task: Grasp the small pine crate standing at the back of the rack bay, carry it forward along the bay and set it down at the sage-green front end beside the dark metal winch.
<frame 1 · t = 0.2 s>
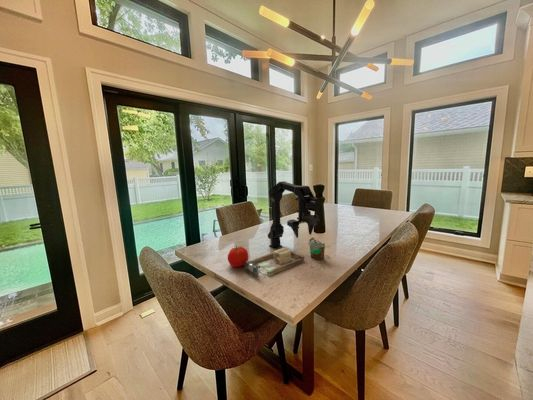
hand: (303, 236, 124), 14 cm above the table, fingers open, 9 cm apart
bay: (275, 263, 123), on the table
food container: (314, 257, 129), on the table
tomato: (238, 265, 123), on the table
crate: (282, 260, 126), resting in bay
winch: (251, 272, 114), on the table
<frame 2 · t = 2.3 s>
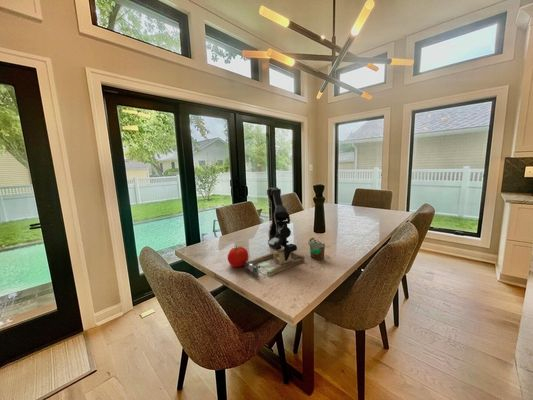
hand: (282, 258, 126), 1 cm above the table, fingers closed on crate, 6 cm apart
crate: (282, 260, 126), resting in bay, touching gripper
everything else where it was.
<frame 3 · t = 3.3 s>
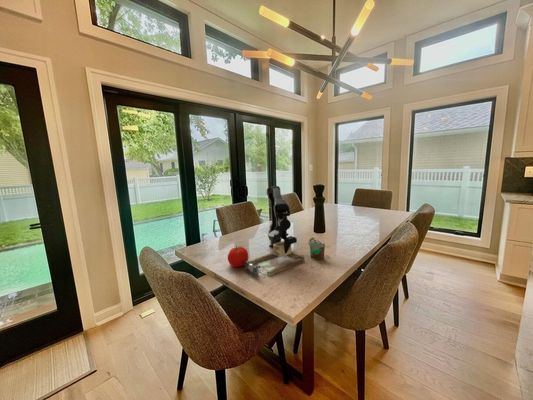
hand: (282, 251, 125), 6 cm above the table, fingers closed on crate, 6 cm apart
crate: (282, 253, 126), point 4 cm above the table, touching gripper
everything else where it was.
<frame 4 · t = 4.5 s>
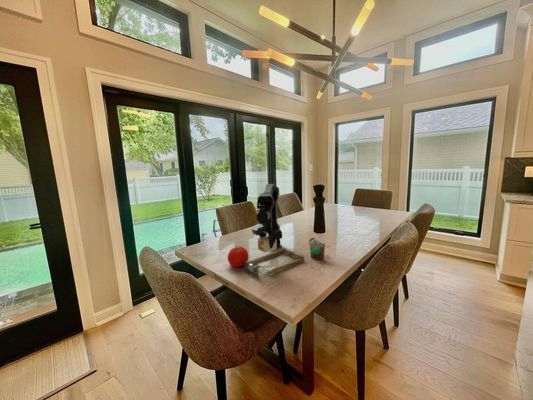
hand: (267, 246, 118), 11 cm above the table, fingers closed on crate, 6 cm apart
crate: (267, 248, 118), point 10 cm above the table, touching gripper
everything else where it was.
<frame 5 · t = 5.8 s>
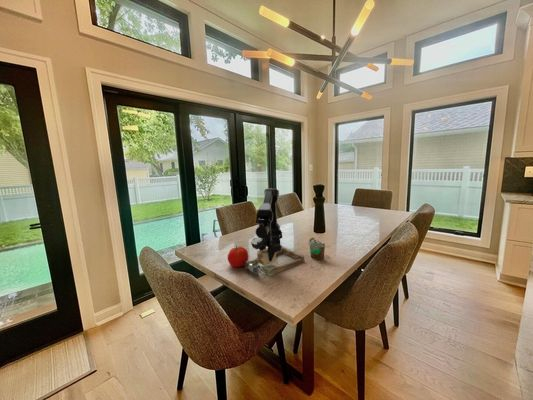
hand: (266, 259, 119), 4 cm above the table, fingers closed on crate, 6 cm apart
crate: (266, 261, 120), point 3 cm above the table, touching gripper
everything else where it was.
when the fingers open (2 cm above the table, at t = 6.6 s): crate drops 1 cm, resting on bay.
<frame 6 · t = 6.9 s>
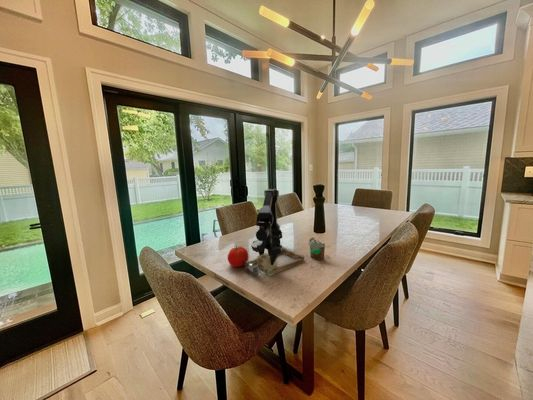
hand: (266, 262, 120), 2 cm above the table, fingers open, 9 cm apart
crate: (267, 266, 120), resting on bay
everything else where it was.
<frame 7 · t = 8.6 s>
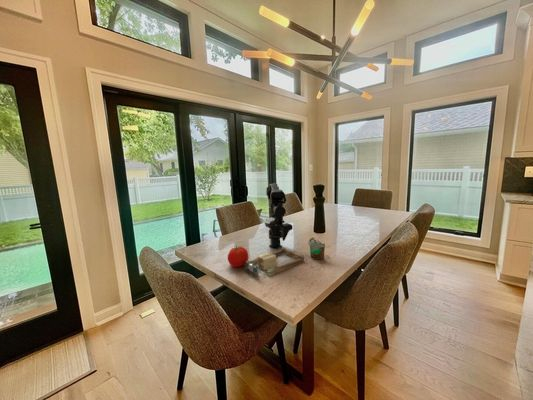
hand: (278, 238, 129), 12 cm above the table, fingers open, 9 cm apart
nothing on the table moved.
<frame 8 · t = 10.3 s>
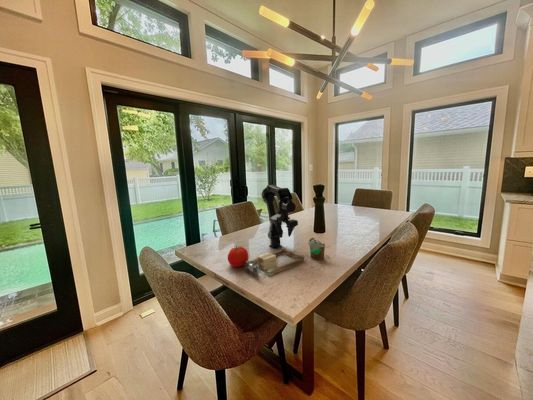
hand: (284, 234, 133), 13 cm above the table, fingers open, 9 cm apart
nothing on the table moved.
at the end: crate inside the target area on the bay (0.6 cm from its centre), point 0.2 cm above the bay's base; crate tilted 0°; the gripper is holding nothing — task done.
